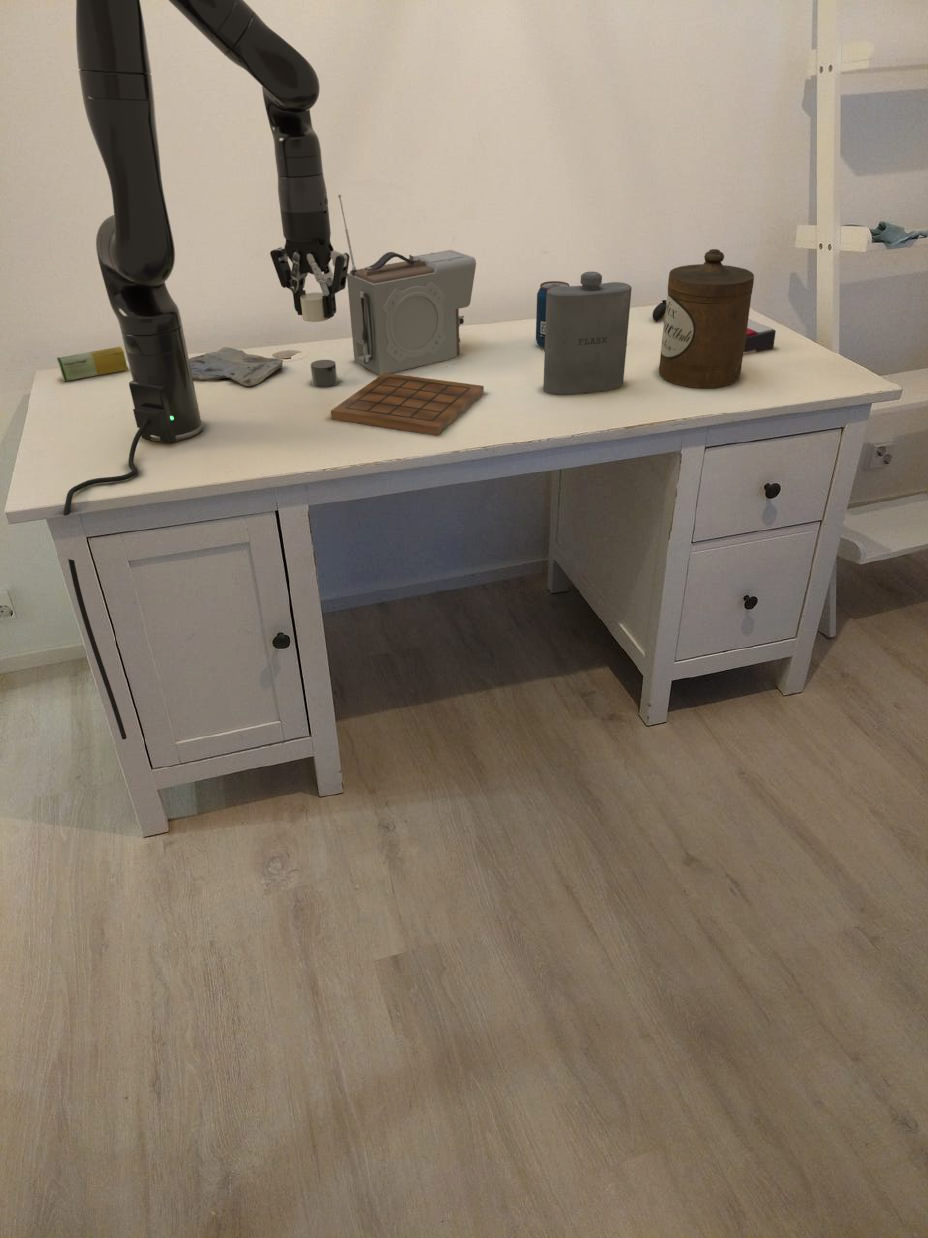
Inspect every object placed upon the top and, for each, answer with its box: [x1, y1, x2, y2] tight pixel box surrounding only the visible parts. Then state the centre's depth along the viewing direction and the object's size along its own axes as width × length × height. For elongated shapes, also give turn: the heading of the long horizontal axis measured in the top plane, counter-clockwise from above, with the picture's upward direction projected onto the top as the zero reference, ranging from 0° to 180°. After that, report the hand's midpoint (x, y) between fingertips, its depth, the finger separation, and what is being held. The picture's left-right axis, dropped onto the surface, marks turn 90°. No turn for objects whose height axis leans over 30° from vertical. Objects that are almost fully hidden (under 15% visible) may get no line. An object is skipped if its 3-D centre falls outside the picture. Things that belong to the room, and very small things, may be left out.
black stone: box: [310, 359, 338, 388], centre depth 165 cm, size 5×5×4 cm
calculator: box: [744, 318, 777, 354], centre depth 177 cm, size 11×4×15 cm
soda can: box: [535, 280, 570, 350], centre depth 178 cm, size 7×7×12 cm
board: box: [330, 373, 485, 436], centre depth 155 cm, size 20×20×2 cm
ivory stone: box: [300, 292, 329, 323], centre depth 148 cm, size 5×5×4 cm
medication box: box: [56, 346, 129, 382], centre depth 170 cm, size 12×3×4 cm, turn 118°
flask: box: [542, 271, 633, 396], centre depth 155 cm, size 15×6×20 cm, turn 103°
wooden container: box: [658, 248, 755, 389], centre depth 159 cm, size 15×15×22 cm
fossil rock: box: [189, 346, 284, 387], centre depth 170 cm, size 18×15×2 cm
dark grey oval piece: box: [651, 299, 667, 322], centre depth 194 cm, size 10×5×6 cm
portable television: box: [337, 193, 477, 376], centre depth 168 cm, size 12×24×30 cm, turn 124°
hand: (316, 315), depth 149 cm, fingers closed on ivory stone, 4 cm apart
